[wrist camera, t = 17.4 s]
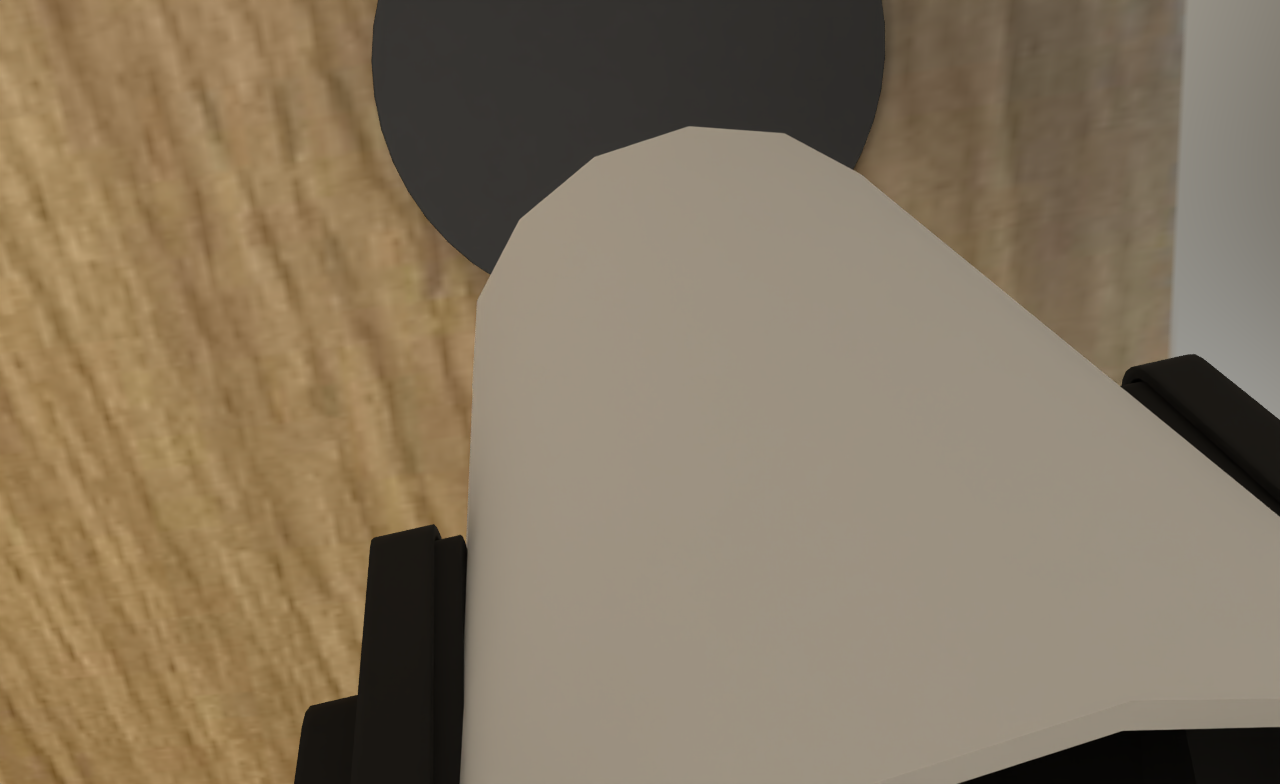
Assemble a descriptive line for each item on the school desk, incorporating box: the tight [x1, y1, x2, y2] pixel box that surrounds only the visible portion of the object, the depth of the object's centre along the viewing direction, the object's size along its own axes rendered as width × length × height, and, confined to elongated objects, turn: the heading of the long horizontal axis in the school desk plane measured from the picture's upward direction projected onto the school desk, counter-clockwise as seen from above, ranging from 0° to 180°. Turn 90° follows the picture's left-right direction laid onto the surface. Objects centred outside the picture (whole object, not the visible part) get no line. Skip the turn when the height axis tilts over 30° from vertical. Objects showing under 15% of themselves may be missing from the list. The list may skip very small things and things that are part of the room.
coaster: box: [372, 0, 885, 275], centre depth 26 cm, size 11×11×1 cm
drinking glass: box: [460, 126, 1280, 784], centre depth 11 cm, size 7×7×10 cm
